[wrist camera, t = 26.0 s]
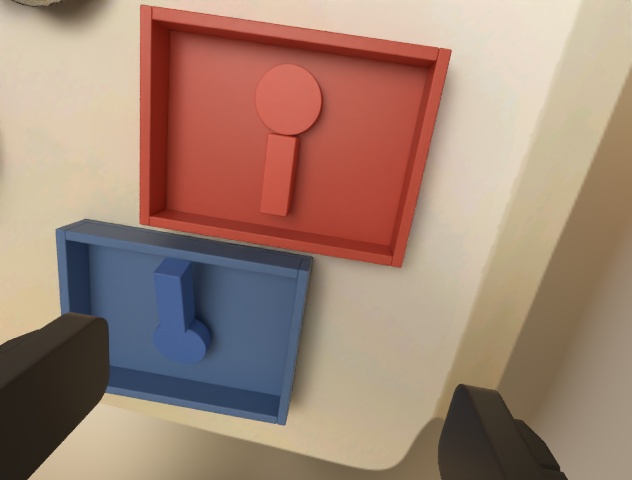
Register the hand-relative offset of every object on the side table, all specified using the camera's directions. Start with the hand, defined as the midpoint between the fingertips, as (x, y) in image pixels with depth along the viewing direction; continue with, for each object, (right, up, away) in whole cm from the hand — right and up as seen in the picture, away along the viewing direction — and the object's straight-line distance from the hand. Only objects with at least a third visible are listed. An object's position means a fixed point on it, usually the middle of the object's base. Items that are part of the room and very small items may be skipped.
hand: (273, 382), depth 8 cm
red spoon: (-1, +9, +13) cm, 16 cm away
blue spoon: (-8, -1, +15) cm, 17 cm away
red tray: (-1, +9, +13) cm, 16 cm away
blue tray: (-8, -2, +17) cm, 19 cm away
